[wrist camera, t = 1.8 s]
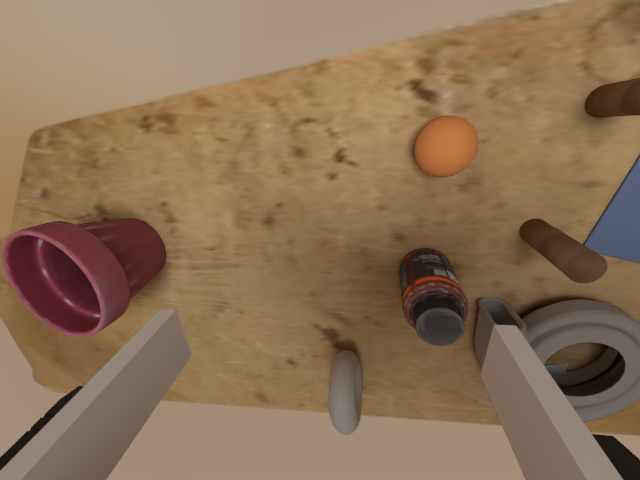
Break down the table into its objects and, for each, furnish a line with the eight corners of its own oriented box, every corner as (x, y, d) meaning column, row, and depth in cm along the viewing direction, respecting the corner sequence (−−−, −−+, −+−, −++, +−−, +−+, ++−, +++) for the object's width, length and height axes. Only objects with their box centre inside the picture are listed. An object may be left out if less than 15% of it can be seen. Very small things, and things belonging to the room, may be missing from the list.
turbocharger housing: (601, 390, 36) (641, 290, 31) (647, 442, 30) (707, 329, 25) (461, 379, 39) (475, 286, 34) (477, 425, 33) (499, 320, 28)
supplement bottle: (407, 294, 36) (413, 360, 26) (392, 254, 35) (393, 306, 24) (456, 283, 34) (484, 350, 24) (443, 240, 33) (467, 291, 22)
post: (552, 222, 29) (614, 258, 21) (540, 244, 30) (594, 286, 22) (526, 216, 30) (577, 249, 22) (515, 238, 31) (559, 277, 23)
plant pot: (99, 262, 47) (5, 305, 36) (103, 186, 41) (-10, 208, 30) (173, 299, 46) (101, 356, 35) (188, 227, 40) (106, 267, 29)
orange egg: (478, 122, 28) (497, 121, 23) (457, 177, 30) (470, 187, 25) (422, 112, 28) (429, 108, 23) (405, 166, 31) (408, 173, 26)
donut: (365, 387, 44) (359, 455, 35) (343, 385, 44) (331, 451, 35) (359, 335, 40) (350, 395, 31) (336, 334, 41) (320, 392, 32)
